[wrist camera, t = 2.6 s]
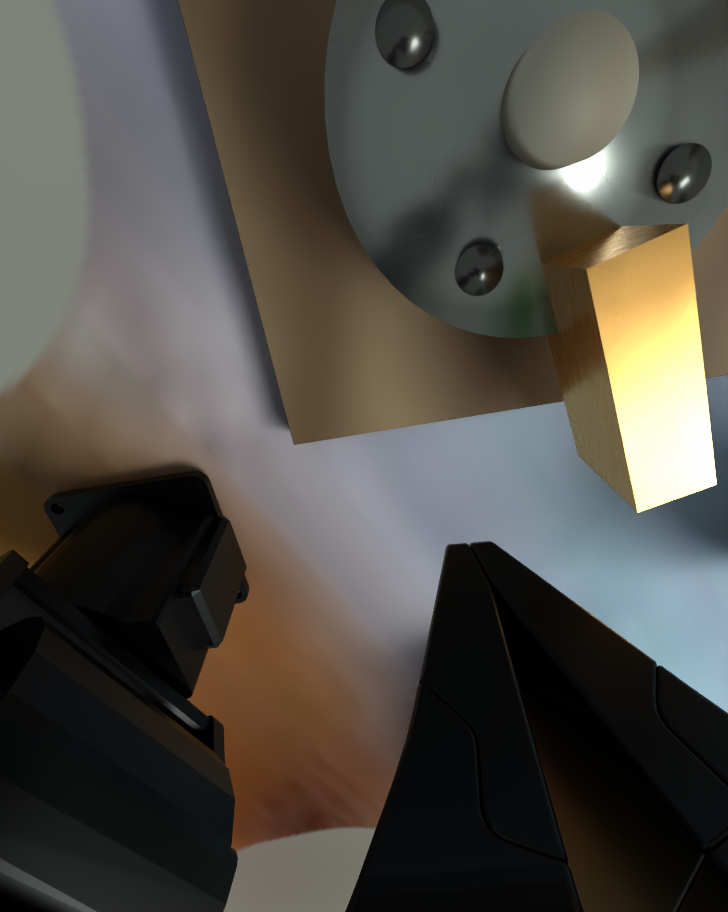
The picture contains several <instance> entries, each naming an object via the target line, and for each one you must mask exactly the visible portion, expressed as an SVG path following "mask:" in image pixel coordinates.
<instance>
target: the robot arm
mask: <svg viewBox="0 0 728 912" xmlns="http://www.w3.org/2000/svg"><path fill="white" fill-rule="evenodd" d="M191 482H197V483H199V485H200V486H201V487H200V488H196V487H194V486H193V485H192V484H191ZM57 504H60V505H62V507H63V508H64V509H62V508H60V507H59V506H58V505H57ZM44 509H45V511H46V513H47V515H48V517H49V518H50V520H51V522H52V524H53V525H54V527H55V529H56V530H57V532H58V534H59V536H60V538H59V539H58V540H57V541H56V542H55V543H54V544H53V545H52V546H51V547H50V548H49V549H48V550H47V551H46V552H45V553H44V554H43V555H42V556H41V558H40V559H39V560H38V561H37V562H36V563H35V564H34V565H33V566H32V567H31V568H30V569H29V568H28V567H27V566H28V564H29V563H28V562H27V561H26V560H25V559H24V558H22V557H21V556H20V555H19V554H18V553H16V552H15V551H14V550H11V551H9V552H7V553H6V554H4V555H2V556H1V557H0V912H223V911H224V909H225V906H226V903H227V899H228V896H229V892H230V889H231V885H232V882H233V878H234V875H235V871H236V867H237V859H238V857H237V853H236V851H235V850H234V849H232V848H231V844H232V832H233V819H234V806H235V797H234V792H233V787H232V783H231V778H230V773H229V769H228V768H227V767H226V766H225V753H224V727H223V724H221V723H220V722H219V721H218V720H217V719H215V718H214V717H213V716H207V715H205V714H204V713H203V712H202V711H200V710H199V709H198V708H197V707H196V706H194V705H193V704H192V703H191V702H190V701H188V700H187V699H188V698H190V697H191V696H192V694H193V691H194V689H195V686H196V683H197V680H198V677H199V674H200V672H201V669H202V666H203V663H204V660H205V657H206V654H207V652H208V649H209V648H216V647H218V646H219V645H220V643H221V642H222V641H223V639H224V636H225V633H226V629H227V626H228V623H229V620H230V617H231V614H232V611H233V608H234V605H235V604H237V603H241V602H244V601H245V600H246V598H247V596H248V593H249V585H248V583H247V580H246V577H245V575H244V574H245V570H246V564H245V561H244V559H243V556H242V553H241V550H240V547H239V545H238V542H237V539H236V536H235V534H234V531H233V528H232V525H231V523H230V521H229V520H228V519H227V518H226V517H224V516H223V515H222V512H221V509H220V507H219V504H218V501H217V498H216V496H215V493H214V490H213V488H212V485H211V482H210V480H209V478H208V476H207V475H205V474H204V473H202V472H199V471H190V472H184V473H178V474H172V475H165V476H159V477H153V478H147V479H141V480H134V481H128V482H122V483H116V484H110V485H103V486H97V487H91V488H85V489H78V490H72V491H66V492H60V493H56V494H53V495H52V496H51V497H50V498H49V499H47V501H46V502H45V503H44ZM239 591H240V593H238V592H239ZM345 912H728V713H727V712H725V711H724V710H722V709H721V708H720V707H718V706H717V705H715V704H714V703H713V702H711V701H710V700H708V699H707V698H705V697H704V696H703V695H701V694H700V693H698V692H697V691H696V690H694V689H693V688H691V687H690V686H688V685H687V684H686V683H684V682H683V681H682V680H680V679H679V678H677V677H676V676H675V675H673V674H672V673H671V672H669V671H668V670H667V669H665V668H664V667H662V666H657V664H656V662H655V661H654V660H653V659H651V658H650V657H649V656H647V655H646V654H644V653H643V652H642V651H640V650H639V649H638V648H636V647H635V646H634V645H632V644H631V643H629V642H628V641H627V640H625V639H624V638H623V637H621V636H620V635H619V634H617V633H616V632H615V631H613V630H612V629H610V628H609V627H608V626H606V625H605V624H604V623H602V622H601V621H600V620H598V619H597V618H595V617H594V616H593V615H591V614H590V613H589V612H587V611H586V610H585V609H583V608H582V607H580V606H579V605H578V604H576V603H575V602H574V601H572V600H571V599H570V598H568V597H567V596H565V595H564V594H563V593H561V592H560V591H559V590H557V589H556V588H555V587H553V586H552V585H551V584H549V583H548V582H546V581H545V580H544V579H542V578H541V577H540V576H538V575H537V574H536V573H534V572H533V571H531V570H530V569H529V568H527V567H526V566H525V565H523V564H522V563H521V562H519V561H518V560H516V559H515V558H514V557H512V556H511V555H510V554H508V553H507V552H506V551H504V550H503V549H501V548H500V547H499V546H497V545H496V544H495V543H493V542H491V541H486V542H473V543H471V544H470V545H468V544H466V543H461V544H449V545H447V547H446V550H445V555H444V560H443V565H442V570H441V575H440V580H439V585H438V590H437V595H436V600H435V606H434V611H433V616H432V621H431V626H430V631H429V636H428V641H427V646H426V651H425V656H424V661H423V666H422V671H421V676H420V681H419V686H418V689H417V694H416V699H415V704H414V709H413V713H412V717H411V722H410V726H409V730H408V734H407V738H406V742H405V745H404V748H403V751H402V754H401V757H400V761H399V764H398V767H397V770H396V773H395V776H394V780H393V782H392V785H391V788H390V791H389V794H388V796H387V799H386V802H385V805H384V808H383V810H382V813H381V816H380V819H379V822H378V824H377V827H376V830H375V833H374V836H373V838H372V841H371V844H370V847H369V850H368V852H367V855H366V858H365V861H364V864H363V867H362V869H361V872H360V875H359V878H358V881H357V883H356V886H355V888H354V891H353V894H352V896H351V899H350V901H349V904H348V906H347V909H346V911H345Z"/></svg>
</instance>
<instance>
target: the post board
mask: <svg viewBox="0 0 728 912" xmlns="http://www.w3.org/2000/svg"><path fill="white" fill-rule="evenodd" d="M178 1H179V5H180V9H181V13H182V17H183V21H184V24H185V28H186V32H187V36H188V40H189V44H190V47H191V51H192V55H193V59H194V63H195V67H196V70H197V74H198V78H199V82H200V86H201V90H202V94H203V97H204V101H205V105H206V109H207V113H208V117H209V120H210V124H211V128H212V132H213V136H214V140H215V143H216V147H217V151H218V155H219V159H220V163H221V167H222V170H223V174H224V178H225V182H226V186H227V190H228V193H229V197H230V201H231V205H232V209H233V213H234V217H235V220H236V224H237V228H238V232H239V236H240V240H241V243H242V247H243V251H244V255H245V259H246V263H247V266H248V270H249V274H250V278H251V282H252V286H253V290H254V293H255V297H256V301H257V305H258V309H259V313H260V316H261V320H262V324H263V328H264V332H265V336H266V339H267V343H268V347H269V351H270V355H271V359H272V363H273V366H274V370H275V374H276V378H277V382H278V386H279V389H280V393H281V397H282V401H283V405H284V409H285V412H286V416H287V420H288V424H289V428H290V432H291V436H292V439H293V443H294V445H296V444H302V443H309V442H315V441H321V440H327V439H333V438H339V437H346V436H352V435H358V434H364V433H370V432H376V431H383V430H389V429H395V428H401V427H407V426H413V425H420V424H426V423H432V422H438V421H444V420H451V419H457V418H463V417H469V416H475V415H481V414H488V413H494V412H500V411H506V410H512V409H518V408H525V407H531V406H537V405H543V404H549V403H555V402H562V401H564V399H563V395H562V391H561V387H560V383H559V380H558V376H557V372H556V368H555V365H554V361H553V357H552V353H551V349H550V346H549V342H548V338H547V336H538V337H529V338H503V337H494V336H488V335H482V334H476V333H473V332H470V331H467V330H463V329H460V328H457V327H454V326H452V325H450V324H447V323H445V322H443V321H441V320H439V319H437V318H435V317H433V316H431V315H430V314H428V313H427V312H425V311H424V310H422V309H421V308H419V307H418V306H416V305H415V304H413V303H412V302H410V301H409V300H408V299H407V298H406V297H405V296H404V295H403V294H402V293H400V292H399V291H398V290H397V289H396V288H395V287H394V286H393V285H392V284H391V283H390V282H389V281H388V280H387V278H386V277H385V276H384V275H383V274H382V273H381V271H380V270H379V269H378V268H377V267H376V266H375V264H374V263H373V262H372V260H371V259H370V257H369V256H368V254H367V253H366V251H365V249H364V248H363V246H362V245H361V243H360V242H359V240H358V238H357V236H356V234H355V232H354V230H353V228H352V226H351V224H350V221H349V219H348V217H347V215H346V212H345V209H344V206H343V203H342V201H341V198H340V195H339V192H338V189H337V186H336V182H335V177H334V173H333V168H332V164H331V159H330V155H329V149H328V140H327V131H326V123H325V68H326V58H327V48H328V38H329V33H330V28H331V23H332V19H333V14H334V9H335V4H336V0H178ZM638 81H639V62H638V55H637V50H636V47H635V44H634V41H633V39H632V37H631V35H630V33H629V32H628V30H627V29H626V28H625V26H624V25H623V24H622V23H621V22H620V21H619V20H618V19H616V18H615V17H613V16H612V15H610V14H608V13H605V12H602V11H598V10H580V11H576V12H573V13H570V14H568V15H566V16H563V17H562V18H560V19H558V20H557V21H555V22H554V23H553V24H551V25H550V26H549V27H548V28H547V29H546V30H545V31H544V32H543V33H542V34H541V35H540V36H539V37H538V38H537V39H536V40H535V41H534V43H533V44H532V45H531V46H530V47H529V48H528V49H527V50H526V51H525V52H524V53H523V55H522V56H521V57H520V59H519V60H518V61H517V63H516V64H515V66H514V68H513V69H512V71H511V73H510V76H509V78H508V80H507V83H506V86H505V89H504V94H503V98H502V106H501V119H502V127H503V132H504V135H505V139H506V141H507V143H508V145H509V147H510V149H511V150H512V152H513V153H514V154H515V156H516V157H517V158H518V159H519V160H521V161H522V162H523V163H524V164H526V165H528V166H530V167H532V168H535V169H539V170H556V169H560V168H563V167H566V166H569V165H572V164H575V163H578V162H581V161H584V160H586V159H589V158H590V157H592V156H594V155H596V154H597V153H598V152H600V151H601V150H603V149H604V148H605V147H606V146H607V145H608V144H609V143H610V142H611V141H612V140H613V139H614V138H615V137H616V135H617V134H618V133H619V131H620V130H621V128H622V127H623V125H624V123H625V122H626V120H627V118H628V116H629V114H630V112H631V109H632V107H633V104H634V101H635V97H636V93H637V88H638ZM691 256H692V265H693V274H694V283H695V292H696V301H697V310H698V319H699V328H700V337H701V346H702V355H703V364H704V373H705V378H710V377H716V376H722V375H728V206H727V207H726V208H725V210H724V211H723V213H722V214H721V215H720V217H719V218H718V220H717V221H716V223H715V224H714V225H713V227H712V228H711V229H710V231H709V232H708V233H707V234H706V235H705V236H704V238H703V239H702V240H701V241H700V242H699V244H698V245H697V246H696V247H695V248H694V249H693V251H692V252H691Z"/></svg>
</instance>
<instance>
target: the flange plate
mask: <svg viewBox="0 0 728 912" xmlns="http://www.w3.org/2000/svg"><path fill="white" fill-rule="evenodd" d="M580 10H598V11H602V12H605V13H608V14H610V15H612V16H613V17H615V18H616V19H618V20H619V21H620V22H621V23H622V24H623V25H624V26H625V28H626V29H627V30H628V32H629V33H630V35H631V37H632V39H633V41H634V44H635V47H636V50H637V55H638V62H639V81H638V88H637V93H636V97H635V101H634V104H633V107H632V109H631V112H630V114H629V116H628V118H627V120H626V122H625V123H624V125H623V127H622V128H621V130H620V131H619V133H618V134H617V135H616V137H615V138H614V139H613V140H612V141H611V142H610V143H609V144H608V145H607V146H606V147H605V148H604V149H603V150H601V151H600V152H598V153H597V154H596V155H594V156H592V157H590V158H589V159H586V160H584V161H581V162H578V163H575V164H572V165H569V166H566V167H563V168H560V169H556V170H539V169H535V168H532V167H530V166H528V165H526V164H524V163H523V162H522V161H521V160H519V159H518V158H517V157H516V156H515V154H514V153H513V152H512V150H511V149H510V147H509V145H508V143H507V141H506V139H505V135H504V132H503V127H502V119H501V106H502V98H503V94H504V89H505V86H506V83H507V80H508V78H509V76H510V73H511V71H512V69H513V68H514V66H515V64H516V63H517V61H518V60H519V59H520V57H521V56H522V55H523V53H524V52H525V51H526V50H527V49H528V48H529V47H530V46H531V45H532V44H533V43H534V41H535V40H536V39H537V38H538V37H539V36H540V35H541V34H542V33H543V32H544V31H545V30H546V29H547V28H548V27H549V26H550V25H551V24H553V23H554V22H555V21H557V20H558V19H560V18H562V17H563V16H566V15H568V14H570V13H573V12H576V11H580ZM325 123H326V131H327V140H328V149H329V155H330V159H331V164H332V168H333V173H334V177H335V182H336V186H337V189H338V192H339V195H340V198H341V201H342V203H343V206H344V209H345V212H346V215H347V217H348V219H349V221H350V224H351V226H352V228H353V230H354V232H355V234H356V236H357V238H358V240H359V242H360V243H361V245H362V246H363V248H364V249H365V251H366V253H367V254H368V256H369V257H370V259H371V260H372V262H373V263H374V264H375V266H376V267H377V268H378V269H379V270H380V271H381V273H382V274H383V275H384V276H385V277H386V278H387V280H388V281H389V282H390V283H391V284H392V285H393V286H394V287H395V288H396V289H397V290H398V291H399V292H400V293H402V294H403V295H404V296H405V297H406V298H407V299H408V300H409V301H410V302H412V303H413V304H415V305H416V306H418V307H419V308H421V309H422V310H424V311H425V312H427V313H428V314H430V315H431V316H433V317H435V318H437V319H439V320H441V321H443V322H445V323H447V324H450V325H452V326H454V327H457V328H460V329H463V330H467V331H470V332H473V333H476V334H482V335H488V336H494V337H503V338H529V337H538V336H547V338H548V342H549V346H550V349H551V353H552V357H553V361H554V365H555V368H556V372H557V376H558V380H559V383H560V387H561V391H562V395H563V399H564V402H565V406H566V410H567V414H568V418H569V421H570V425H571V429H572V433H573V436H574V440H575V444H576V448H577V452H578V455H579V457H580V458H581V459H582V460H583V461H584V462H586V463H587V464H588V465H589V466H590V467H591V468H592V469H593V470H594V471H595V472H596V473H597V474H598V475H599V476H600V477H601V478H602V479H603V480H604V481H605V482H606V483H607V484H608V485H609V486H610V487H612V488H613V489H614V490H615V491H616V492H617V493H618V494H619V495H620V496H621V497H622V498H623V499H624V500H625V501H626V502H627V503H628V504H629V505H630V506H631V507H632V508H633V509H634V510H635V511H637V512H641V511H644V510H647V509H650V508H652V507H655V506H658V505H661V504H664V503H667V502H669V501H672V500H675V499H678V498H681V497H683V496H686V495H689V494H692V493H695V492H697V491H700V490H703V489H706V488H709V487H711V486H714V485H717V482H716V473H715V464H714V455H713V446H712V437H711V428H710V419H709V410H708V401H707V392H706V382H705V373H704V364H703V355H702V346H701V337H700V328H699V319H698V310H697V301H696V292H695V283H694V274H693V265H692V256H691V252H692V251H693V249H694V248H695V247H696V246H697V245H698V244H699V242H700V241H701V240H702V239H703V238H704V236H705V235H706V234H707V233H708V232H709V231H710V229H711V228H712V227H713V225H714V224H715V223H716V221H717V220H718V218H719V217H720V215H721V214H722V213H723V211H724V210H725V208H726V207H727V206H728V0H336V4H335V9H334V14H333V19H332V23H331V28H330V33H329V38H328V48H327V58H326V68H325Z"/></svg>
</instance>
